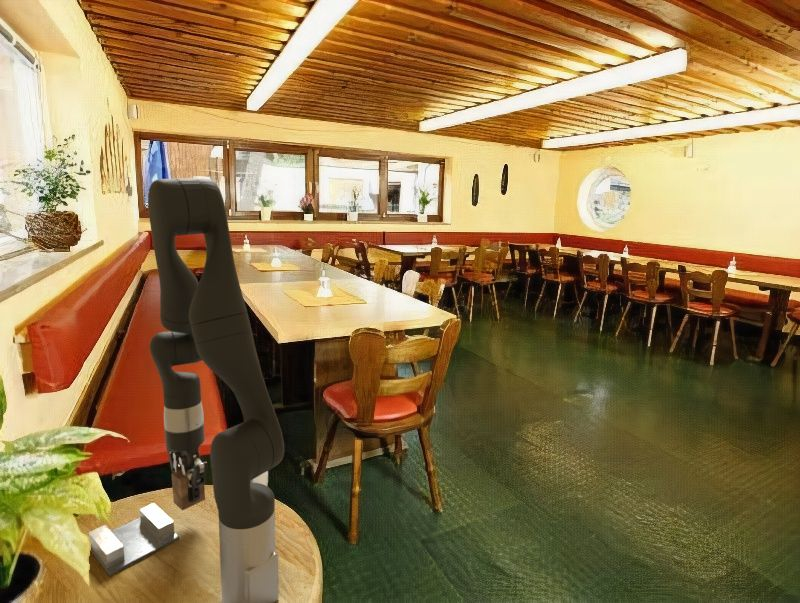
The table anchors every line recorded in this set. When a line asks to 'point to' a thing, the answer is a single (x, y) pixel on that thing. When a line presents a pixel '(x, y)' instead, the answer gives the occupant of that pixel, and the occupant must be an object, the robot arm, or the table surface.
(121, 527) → the grey metal u-shaped piece
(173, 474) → the walnut wick block
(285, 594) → the table surface
